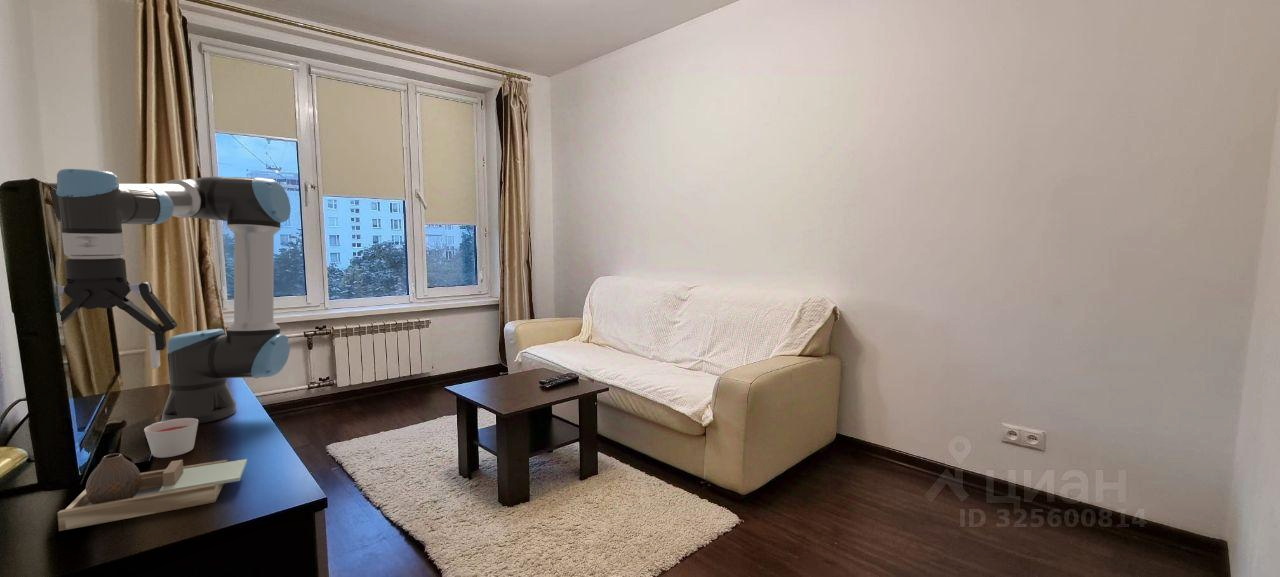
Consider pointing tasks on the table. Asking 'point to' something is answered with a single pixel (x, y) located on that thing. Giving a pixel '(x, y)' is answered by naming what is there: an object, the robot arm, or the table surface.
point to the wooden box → (137, 502)
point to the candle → (171, 437)
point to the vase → (113, 480)
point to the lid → (200, 475)
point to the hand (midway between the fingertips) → (106, 371)
